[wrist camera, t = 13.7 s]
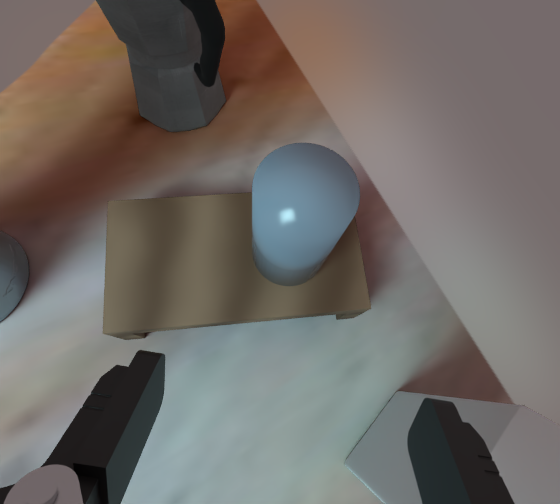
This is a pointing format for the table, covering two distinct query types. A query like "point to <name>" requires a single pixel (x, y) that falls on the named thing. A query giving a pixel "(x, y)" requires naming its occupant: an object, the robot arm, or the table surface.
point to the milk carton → (490, 426)
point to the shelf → (211, 269)
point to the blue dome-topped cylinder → (300, 210)
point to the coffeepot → (172, 58)
